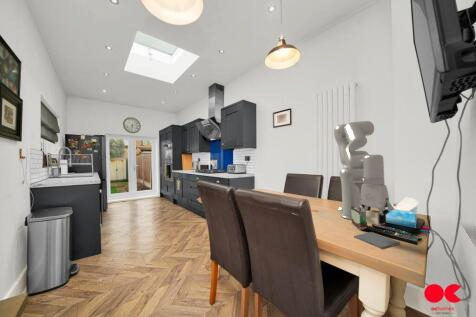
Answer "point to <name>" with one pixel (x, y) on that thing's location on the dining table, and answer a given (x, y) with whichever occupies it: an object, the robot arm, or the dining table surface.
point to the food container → (358, 217)
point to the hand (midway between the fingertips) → (375, 221)
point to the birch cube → (373, 217)
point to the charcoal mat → (377, 240)
